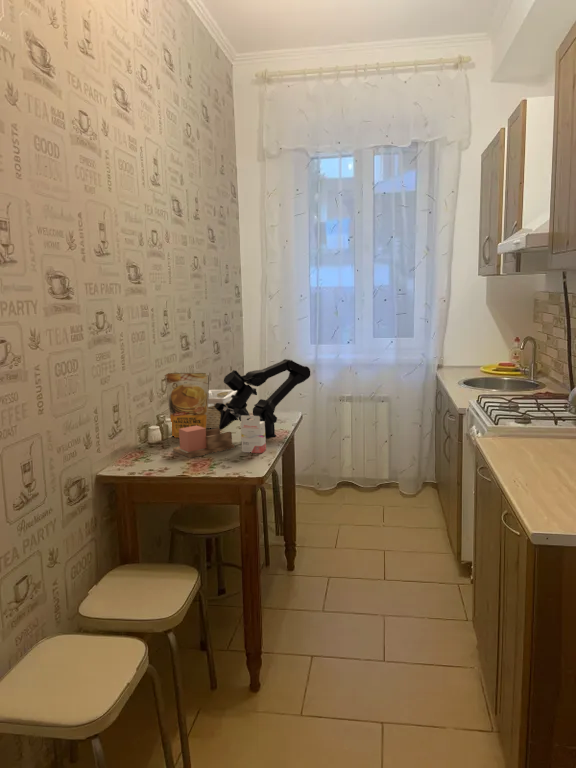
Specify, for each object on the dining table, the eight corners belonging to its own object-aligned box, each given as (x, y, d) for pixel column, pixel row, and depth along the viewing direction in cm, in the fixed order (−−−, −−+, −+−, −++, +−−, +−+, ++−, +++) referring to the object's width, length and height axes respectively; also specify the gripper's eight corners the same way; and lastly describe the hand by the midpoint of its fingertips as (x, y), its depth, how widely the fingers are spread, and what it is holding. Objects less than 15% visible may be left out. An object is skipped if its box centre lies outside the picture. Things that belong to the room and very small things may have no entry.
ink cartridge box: (266, 450, 234) (265, 413, 231) (261, 453, 229) (260, 416, 227) (246, 448, 236) (245, 412, 234) (241, 452, 232) (239, 415, 229)
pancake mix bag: (171, 434, 264) (167, 372, 259) (212, 434, 261) (209, 371, 256) (166, 438, 257) (161, 374, 253) (208, 438, 254) (204, 374, 250)
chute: (216, 441, 249) (215, 427, 248) (234, 448, 238) (233, 433, 237) (173, 450, 237) (172, 435, 236) (190, 458, 226) (189, 442, 225)
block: (197, 444, 239) (196, 425, 238) (206, 448, 234) (205, 428, 233) (180, 448, 235) (178, 428, 233) (188, 452, 229) (187, 431, 228)
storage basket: (208, 417, 295) (206, 388, 293) (239, 418, 292) (238, 388, 290) (191, 429, 272) (189, 398, 270) (225, 430, 269) (223, 398, 267)
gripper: (266, 411, 243) (245, 443, 238) (241, 405, 257) (221, 435, 253) (249, 396, 237) (227, 428, 232) (224, 390, 251) (203, 420, 247)
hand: (220, 428), depth 241 cm, fingers closed
